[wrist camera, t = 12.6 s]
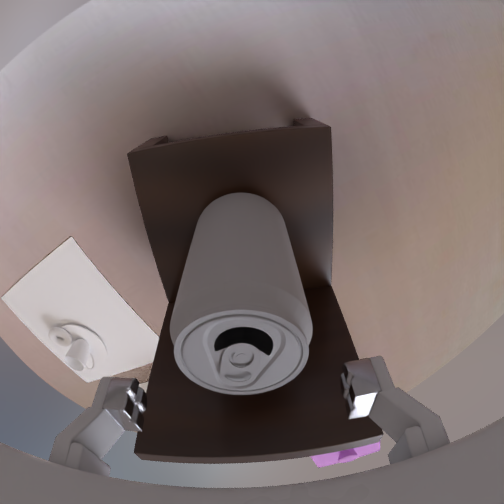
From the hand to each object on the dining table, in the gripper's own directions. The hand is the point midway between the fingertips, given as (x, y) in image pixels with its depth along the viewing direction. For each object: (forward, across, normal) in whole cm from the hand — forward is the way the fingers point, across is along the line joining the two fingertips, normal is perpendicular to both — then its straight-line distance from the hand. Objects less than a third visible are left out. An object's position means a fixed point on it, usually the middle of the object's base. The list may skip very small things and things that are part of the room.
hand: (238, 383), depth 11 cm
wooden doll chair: (+19, 0, 0) cm, 19 cm away
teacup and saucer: (+19, +24, +14) cm, 34 cm away
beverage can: (+13, 0, 0) cm, 13 cm away
